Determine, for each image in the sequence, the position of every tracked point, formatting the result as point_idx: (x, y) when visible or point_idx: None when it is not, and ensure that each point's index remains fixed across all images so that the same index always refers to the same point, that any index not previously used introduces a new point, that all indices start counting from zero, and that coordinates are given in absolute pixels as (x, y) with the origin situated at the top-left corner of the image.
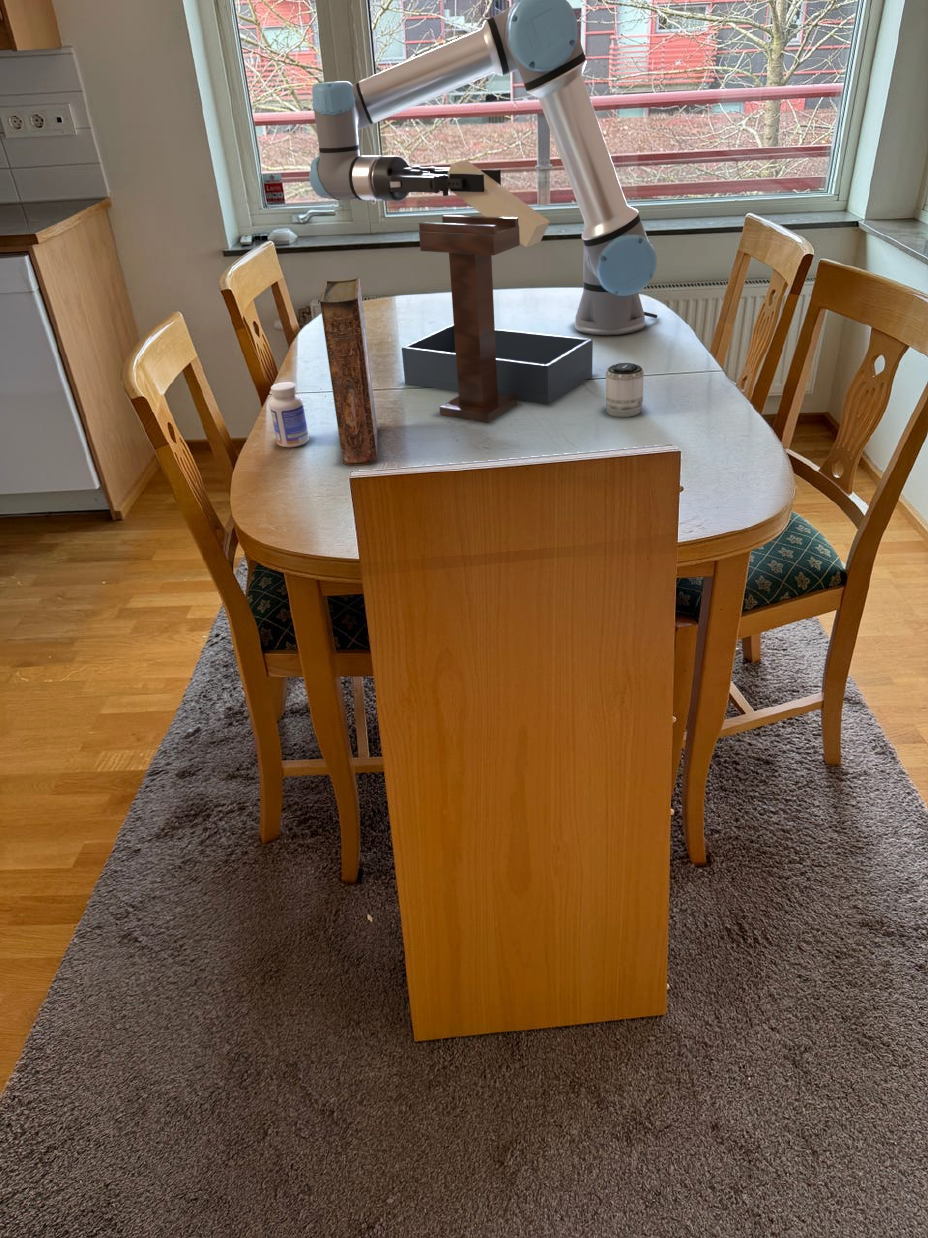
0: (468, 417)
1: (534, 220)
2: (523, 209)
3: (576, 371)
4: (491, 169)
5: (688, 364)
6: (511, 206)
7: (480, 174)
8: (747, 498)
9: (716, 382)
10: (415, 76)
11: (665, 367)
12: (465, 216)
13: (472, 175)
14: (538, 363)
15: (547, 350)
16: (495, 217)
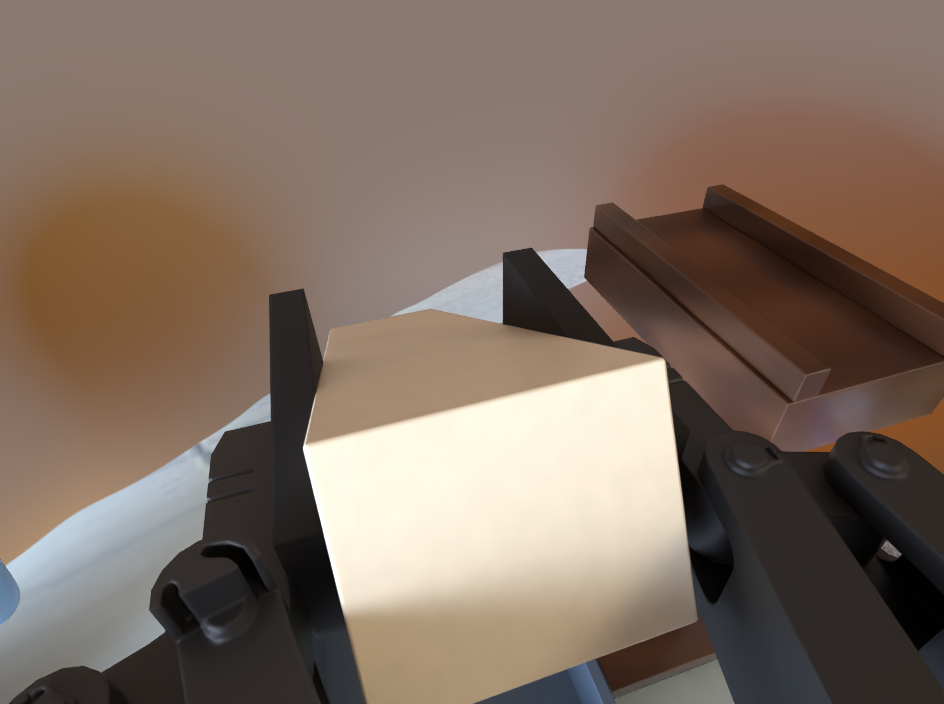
0: None
1: (406, 315)
2: (393, 324)
3: None
4: (271, 343)
5: (165, 493)
6: (446, 316)
7: (530, 254)
8: (547, 263)
9: (253, 415)
10: None
11: (198, 512)
12: (731, 298)
13: (562, 289)
14: (355, 695)
15: (321, 674)
16: (648, 235)
